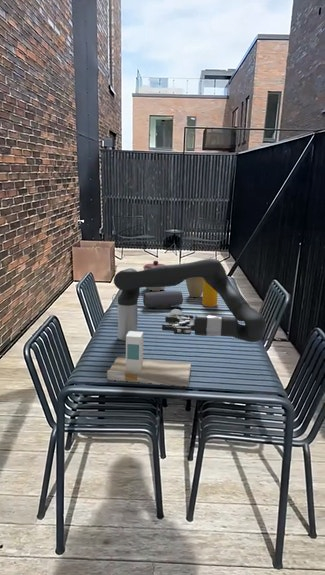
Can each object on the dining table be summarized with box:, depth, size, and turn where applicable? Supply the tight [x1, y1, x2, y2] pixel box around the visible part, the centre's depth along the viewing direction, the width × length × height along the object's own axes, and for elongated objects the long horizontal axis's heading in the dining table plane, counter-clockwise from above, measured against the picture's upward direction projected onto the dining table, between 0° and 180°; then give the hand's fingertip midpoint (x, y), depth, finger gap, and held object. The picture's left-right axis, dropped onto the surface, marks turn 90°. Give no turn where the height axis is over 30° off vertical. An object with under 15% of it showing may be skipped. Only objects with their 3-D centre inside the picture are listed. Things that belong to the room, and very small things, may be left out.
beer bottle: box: [201, 280, 219, 308], centre depth 240 cm, size 9×9×29 cm
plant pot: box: [185, 277, 204, 298], centre depth 261 cm, size 15×15×16 cm
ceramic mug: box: [168, 308, 184, 325], centre depth 205 cm, size 11×8×8 cm
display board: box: [106, 356, 192, 388], centre depth 149 cm, size 15×30×4 cm, turn 82°
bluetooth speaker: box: [142, 290, 184, 309], centre depth 235 cm, size 23×9×10 cm, turn 108°
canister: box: [142, 260, 166, 292], centre depth 275 cm, size 18×18×21 cm
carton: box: [125, 331, 144, 372], centre depth 147 cm, size 6×6×14 cm
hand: (163, 323), depth 142 cm, fingers open, 8 cm apart
